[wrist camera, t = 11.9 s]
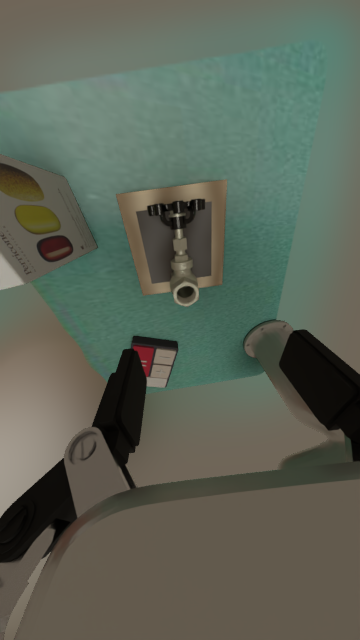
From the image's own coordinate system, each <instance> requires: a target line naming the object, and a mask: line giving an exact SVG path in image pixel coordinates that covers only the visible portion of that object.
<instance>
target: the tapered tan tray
mask: <svg viewBox="0 0 360 640" xmlns="http://www.w3.org/2000/svg"><path fill="white" fill-rule="evenodd" d="M226 191H227V180H219V181H212V182H204V183H197V184H189V185H182V186H174V187H167V188H160V189H152V190H145V191H137V192H130V193H122V194H116V197H117V200H118V204H119V208H120V211H121V215H122V219H123V222H124V226H125V230H126V234H127V237H128V241H129V245H130V248H131V252H132V256H133V260H134V263H135V267H136V271H137V274H138V278H139V282H140V286H141V289H142V293H143V295H151V294H158V293H165V292H171V290H170V280H171V278H172V277H171V273H172V272H173V271H174V270H173V269H172V268H171V260H172V259H175V255H176V251H174V246H173V238H175V230H171V229H170V226H165V225H164V224H163V223H162V222H161V220H160V215H159V216H155V214H154V216H149V215H148V210H147V206H149V205H153V204H159V203H164V204H170V203H172V202H173V201H181V200H183V202H186V201H191V200H192V199H200V198H201V199H205V209H204V210H199V211H196V215H195V218H194V220H193V221H192V222H191V223H189V224H186V228H184V229H183V237H186V240H187V249H186V250H185V253H187V255H188V257H190V258H192V261H193V267H192V268H191V271H192V273H193V274H194V275H195V277H196V278H197V281H198V288H202V287H209V286H217V285H222V277H223V256H224V234H225V212H226ZM184 213H186V219H188V218H189V216H190V211H188V209H184ZM165 215H166V219H167V220H168V221H169V215H170V211H166V212H165ZM171 215H173V214H171Z"/></svg>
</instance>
